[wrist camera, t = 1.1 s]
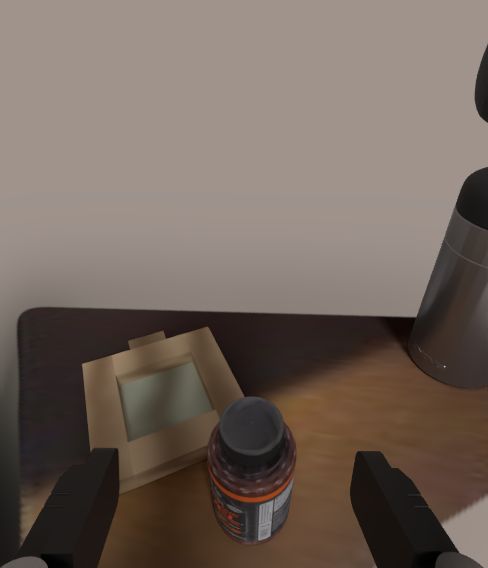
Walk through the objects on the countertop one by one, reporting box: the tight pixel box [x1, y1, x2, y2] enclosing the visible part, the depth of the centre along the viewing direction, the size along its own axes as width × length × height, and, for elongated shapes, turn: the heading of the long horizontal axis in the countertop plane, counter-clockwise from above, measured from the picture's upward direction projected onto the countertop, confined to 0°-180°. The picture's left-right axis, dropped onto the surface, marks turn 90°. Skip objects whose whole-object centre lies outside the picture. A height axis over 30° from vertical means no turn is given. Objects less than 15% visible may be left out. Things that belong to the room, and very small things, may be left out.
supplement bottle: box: [207, 396, 296, 545], centre depth 25 cm, size 6×6×11 cm
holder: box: [82, 327, 244, 495], centre depth 36 cm, size 14×16×2 cm
